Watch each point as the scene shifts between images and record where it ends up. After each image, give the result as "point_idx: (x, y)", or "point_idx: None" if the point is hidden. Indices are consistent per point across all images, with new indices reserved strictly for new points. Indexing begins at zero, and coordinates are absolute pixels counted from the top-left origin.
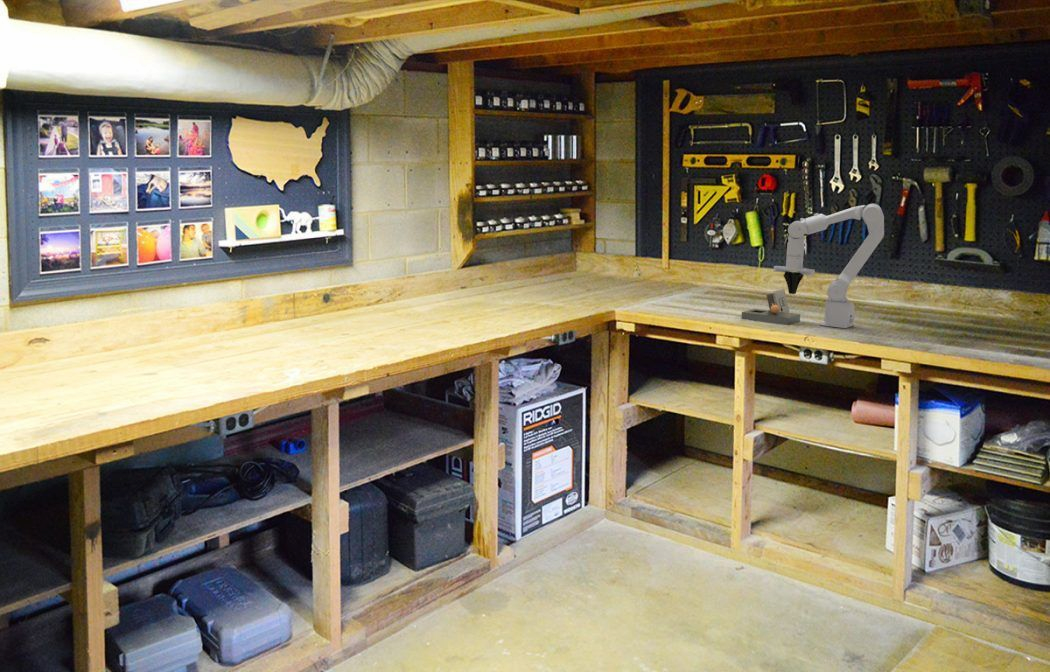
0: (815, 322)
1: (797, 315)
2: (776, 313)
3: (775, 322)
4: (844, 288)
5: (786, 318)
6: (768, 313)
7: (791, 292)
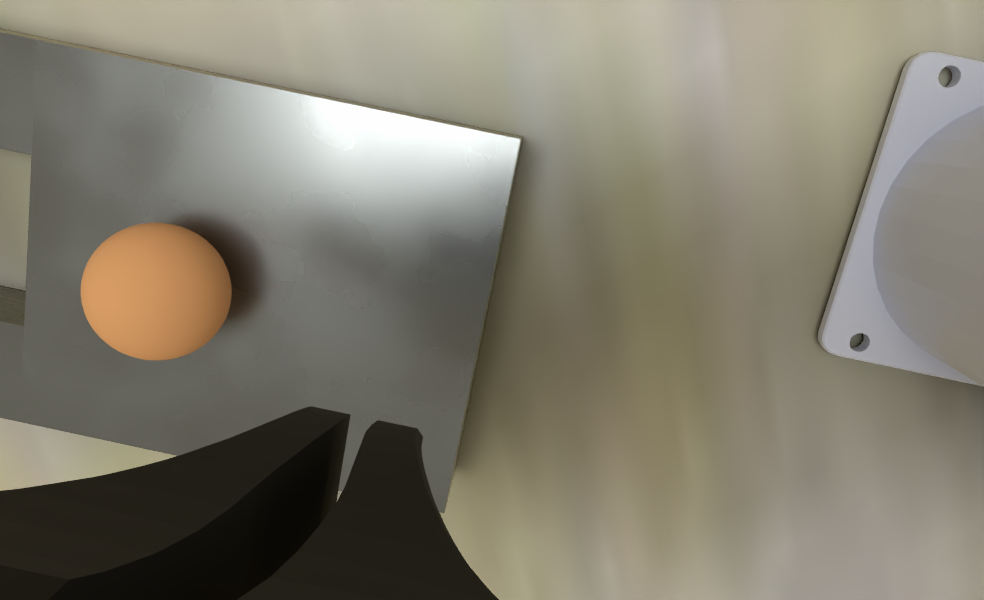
0: (731, 131)
1: (500, 237)
2: None
3: None
4: None
5: None
6: None
7: (330, 503)
